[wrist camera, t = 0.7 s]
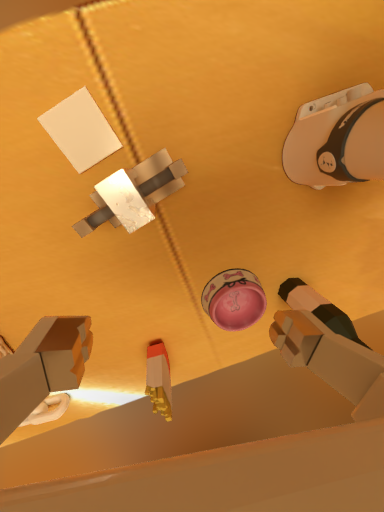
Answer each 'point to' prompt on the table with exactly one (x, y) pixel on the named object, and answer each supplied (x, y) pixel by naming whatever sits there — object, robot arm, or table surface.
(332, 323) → the wine bottle
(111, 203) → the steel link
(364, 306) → the table surface
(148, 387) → the french fries container
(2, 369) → the robot arm
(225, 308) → the dog bowl
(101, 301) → the table surface
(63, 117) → the ceramic tile
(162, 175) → the rail stand
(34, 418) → the chain
